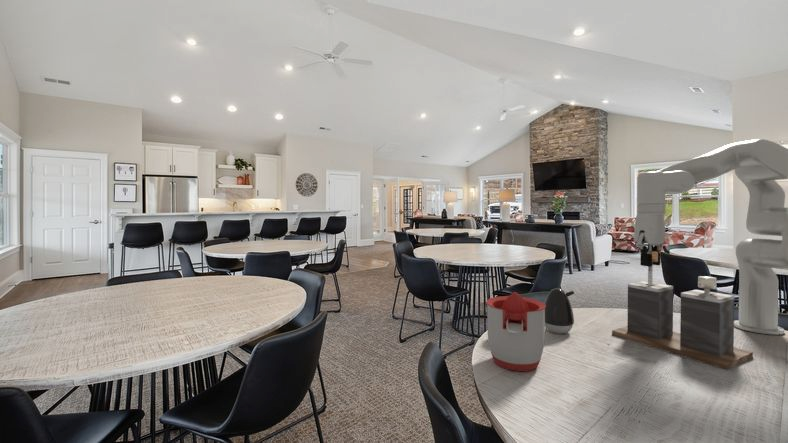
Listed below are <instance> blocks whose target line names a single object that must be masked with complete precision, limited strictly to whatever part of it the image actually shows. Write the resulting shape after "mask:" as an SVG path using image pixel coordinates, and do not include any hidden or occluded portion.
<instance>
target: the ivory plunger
mask: <svg viewBox="0 0 788 443" xmlns="http://www.w3.org/2000/svg"><path fill="white" fill-rule="evenodd" d="M717 279H718V278H717V277H715V276H714V277H713V276H709V275H708V276H706V275H704V276H703V275H702V276H701V275H699V276H698V277H697V287H698V289H699V288H700V289H704V290H703V291H704V295H710V292H711V290H717V281H718V280H717Z"/></svg>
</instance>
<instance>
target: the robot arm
mask: <svg viewBox="0 0 788 443" xmlns="http://www.w3.org/2000/svg"><path fill="white" fill-rule="evenodd" d="M732 171H734V174H735V176H736V177H737V179H739V180H740V181H741V182H742V183H743V185H745V187H746V188H747V191H748V195H749V198H748V200H749V202H748V206H747V207H748V209H747V214H746V224H745V225H746V227H745V228H746V229H747V231H748V232H750V233H751V234H754V235H758V236H759V235H760V236H771V237H772V236H774V237H775V236H776V237H781V238H782V239H781V240H780V239H771V238H770V239H769V238H747V239H744V240H741V241H739V243H738V244H737V245H736V247H735V257H736V260H737V266H738V272H739V273H738V274H739V275H738V276H739V277H738V279H739V280H738V282H739V283H738V320H737V319H734V328H737V329H739V330H743V331H747V332H752V333H757V334H761V335H762V334H763V335H764V334H765V335H775V336H779V334H780V335H783V334H785V329H784V328H783V327H780V326H778V325H779V321H778V320H779V282H780V281H779V278H778V276H777V274H776V272H775V271H774V270H773V269H779V270H784V271H785V270H786V271H787V270H788V207H785V203H786V202H785V201H786V193H785V190H784V189H783V187H782V186H781V185H780V184H779V183H778V182H777V181H778V180H788V147H787V148H786V147H785V146H783V145H782V144H779V143H776V142H774V141H772V140H769V139H765V138H757V139H756V138H755V139H751V140H744V141H738V142H733V143H730V144H726V145H723V146H722V147H719V148H716V149H714V150H712V151H710V152H707V153H705V154H702V155H700V156H696V157H694V158H690V159H688V160H685V161H682V162H679V163H675V164H672V165H669V166H666V167H663V168H661V169H659V170H655V171H644V172H640V173H638V175H637V177H636V185H637V186H636V216H635V222H634V229H633V230H634V232H633V235H634V236H633V242H634V244H636V246H637V247H638V248H639V253H640V262H639V263H640V266H643V267H648V266H652V254H651V251H652V252H658V262H653V265H654V266H660V265H661V253H662V246H664V244H665V241H666V221H665V214H666V195H679V194H680V195H681V194H685V193H687V192H690V191H691V190H692V189H693V187H694V186H695V183H701V182H705V181H710V180H714V179H715V178H718V177H720V176H722V175H725V174H727V173H729V172H730V173H731V172H732Z"/></svg>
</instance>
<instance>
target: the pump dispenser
mask: <svg viewBox="0 0 788 443" xmlns="http://www.w3.org/2000/svg"><path fill="white" fill-rule="evenodd" d="M574 294H575V291H574V290H571V291H568V292H565V290H563V289H562V288H559V287H556V288H553V289H551V290H550V291H549V292H548V294H547V296H546V298H545V299H544V302H543V303H544V304H545V305H546V308H545V330H547V331H549V332H550V333H553V334H557V333H558V334H557V335H564V334H567V333H569V332H570V331H571V330H572V328H573V325H574V324H575V317H574V316H575V315H574V311H573V307H572V303H571V301H570V299H569V297H571V296H572V295H574Z"/></svg>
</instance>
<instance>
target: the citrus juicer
mask: <svg viewBox="0 0 788 443" xmlns="http://www.w3.org/2000/svg"><path fill="white" fill-rule="evenodd" d="M485 303H486V307H487V310H486V311H487V313H486V316H487V318H486V319H487V341H488V345H489V350H490V354H491V357H492V360H493V361H494V363H495V364H496V365H497V366H499V367H500V368H504V369H506V370H510V371H511V370H512V371H518V372H531V371H532V370H534V369H536V368H538V367H539V364H540V363H541V362H540V361H541V359H542V355H543V352H544V348H545V347H544V346H545V335H546V333H545V330H546V327H545V308H546V305H545V304H544V303H545V302H543V301H540V300H537V299H534V298H530V297H529V298H528V297H524V296H521V295H520V294H519V293H518V292H516V291H514V292H513V293H512V292H511V294H510V295H509V296H505V295H504V296H495V297H491V298H488V299H487V300H486V302H485Z"/></svg>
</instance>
